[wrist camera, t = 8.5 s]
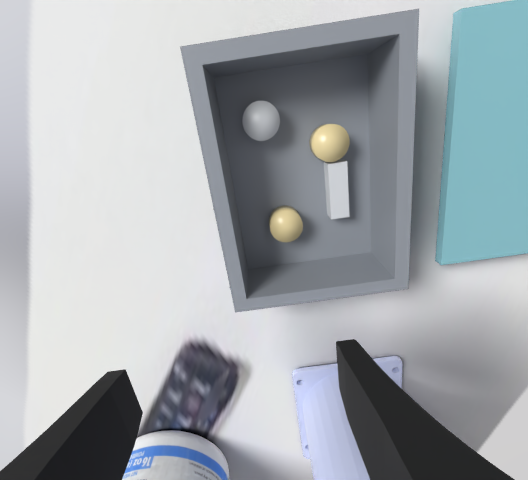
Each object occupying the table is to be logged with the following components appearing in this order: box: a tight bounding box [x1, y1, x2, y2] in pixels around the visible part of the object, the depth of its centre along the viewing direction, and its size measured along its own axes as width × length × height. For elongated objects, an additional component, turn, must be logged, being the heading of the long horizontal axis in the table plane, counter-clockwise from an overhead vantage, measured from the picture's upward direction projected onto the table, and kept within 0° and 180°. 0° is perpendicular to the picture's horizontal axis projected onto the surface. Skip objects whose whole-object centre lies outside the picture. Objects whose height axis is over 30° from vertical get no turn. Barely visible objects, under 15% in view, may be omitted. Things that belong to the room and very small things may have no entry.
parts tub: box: [180, 9, 419, 312], centre depth 15 cm, size 12×9×4 cm
